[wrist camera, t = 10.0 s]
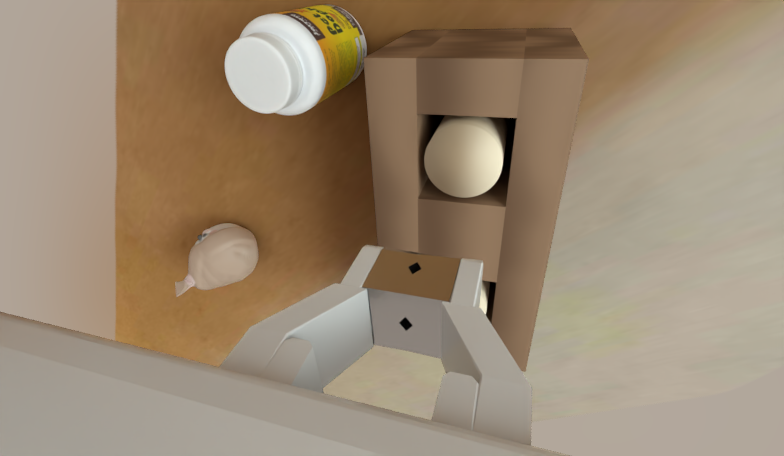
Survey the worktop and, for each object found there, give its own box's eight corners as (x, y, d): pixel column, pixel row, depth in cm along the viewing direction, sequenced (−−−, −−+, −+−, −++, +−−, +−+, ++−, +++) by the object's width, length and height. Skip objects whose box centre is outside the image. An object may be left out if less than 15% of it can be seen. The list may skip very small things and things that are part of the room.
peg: (513, 82, 26) (506, 126, 19) (507, 140, 29) (498, 201, 21) (452, 80, 27) (424, 123, 20) (450, 137, 30) (424, 193, 22)
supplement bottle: (376, 15, 28) (310, 37, 19) (361, 94, 31) (300, 142, 23) (302, -8, 28) (207, 4, 20) (295, 72, 32) (211, 111, 23)
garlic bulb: (208, 209, 42) (150, 254, 36) (261, 215, 41) (210, 262, 34) (226, 260, 46) (176, 309, 39) (276, 267, 44) (232, 319, 38)
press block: (570, 28, 25) (588, 59, 17) (527, 279, 36) (525, 371, 28) (412, 30, 28) (363, 57, 19) (416, 263, 38) (385, 344, 30)
